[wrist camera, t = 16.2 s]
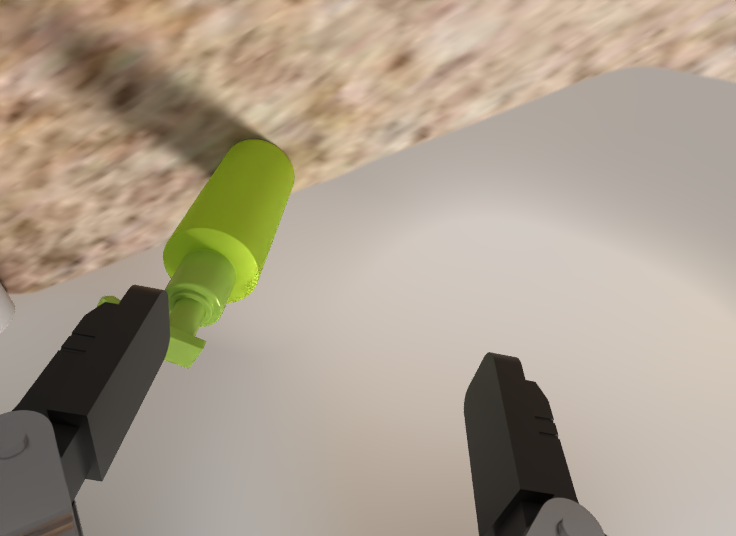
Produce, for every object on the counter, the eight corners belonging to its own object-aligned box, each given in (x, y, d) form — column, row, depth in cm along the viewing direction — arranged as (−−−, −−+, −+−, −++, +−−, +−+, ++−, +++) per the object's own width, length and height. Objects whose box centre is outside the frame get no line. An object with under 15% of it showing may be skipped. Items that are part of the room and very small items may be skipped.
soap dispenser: (230, 117, 38) (108, 277, 22) (307, 165, 40) (247, 343, 24) (200, 173, 41) (75, 349, 25) (273, 215, 43) (200, 402, 27)
